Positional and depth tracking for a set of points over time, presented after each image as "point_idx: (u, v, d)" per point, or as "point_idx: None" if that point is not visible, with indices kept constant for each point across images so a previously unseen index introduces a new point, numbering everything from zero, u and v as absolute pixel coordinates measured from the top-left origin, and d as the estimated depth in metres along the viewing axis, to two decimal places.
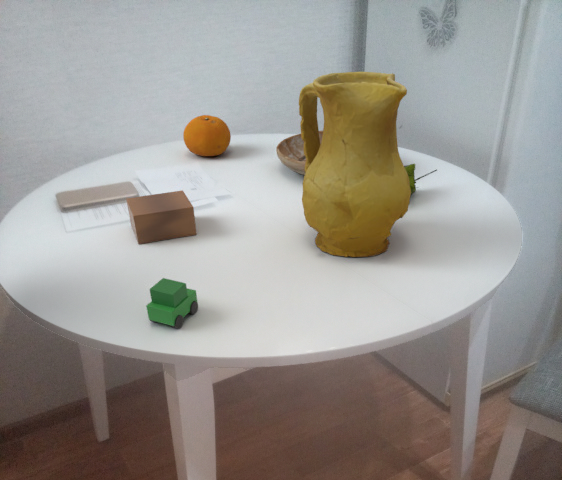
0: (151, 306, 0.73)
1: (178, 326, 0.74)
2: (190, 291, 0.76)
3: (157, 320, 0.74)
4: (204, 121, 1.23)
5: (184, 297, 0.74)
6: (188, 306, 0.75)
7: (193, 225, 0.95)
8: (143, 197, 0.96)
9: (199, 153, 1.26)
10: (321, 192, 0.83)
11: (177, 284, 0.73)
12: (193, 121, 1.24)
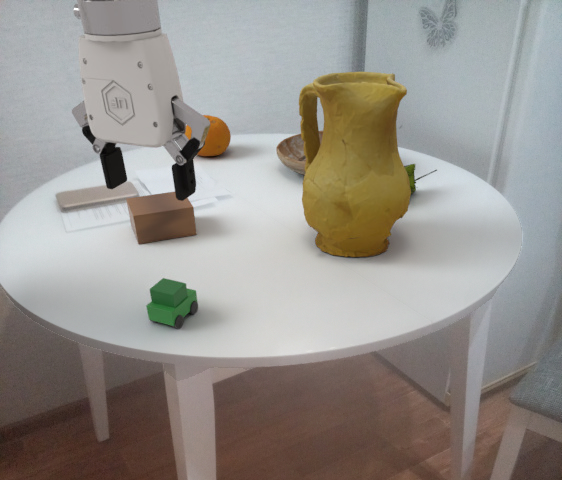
0: (151, 306, 0.73)
1: (178, 326, 0.74)
2: (190, 291, 0.76)
3: (157, 320, 0.74)
4: None
5: (184, 297, 0.74)
6: (188, 306, 0.75)
7: (193, 225, 0.95)
8: (143, 197, 0.96)
9: (199, 153, 1.26)
10: (321, 192, 0.83)
11: (177, 284, 0.73)
12: None
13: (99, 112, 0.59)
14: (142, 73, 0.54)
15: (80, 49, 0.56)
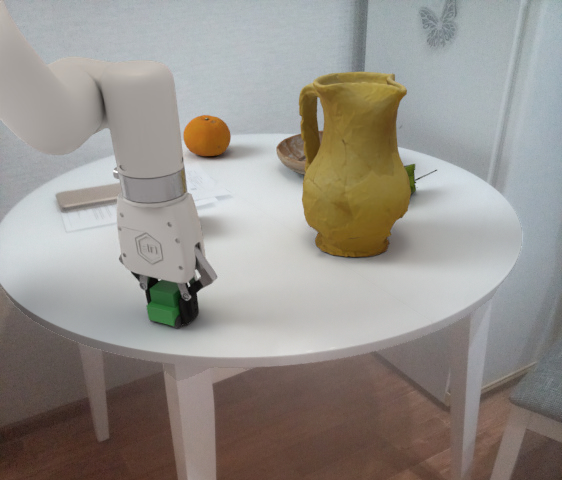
0: (151, 306, 0.73)
1: (178, 326, 0.74)
2: None
3: (157, 320, 0.74)
4: (204, 121, 1.23)
5: None
6: None
7: None
8: None
9: (199, 153, 1.26)
10: (321, 192, 0.83)
11: (177, 284, 0.73)
12: (193, 121, 1.24)
13: (132, 252, 0.69)
14: (171, 230, 0.64)
15: (118, 205, 0.66)
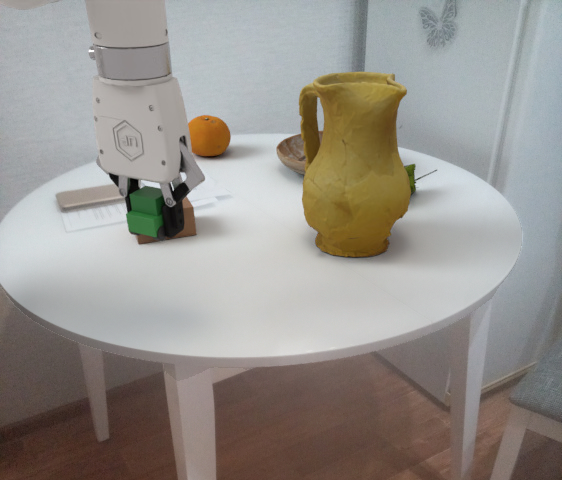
0: (131, 214, 0.66)
1: (161, 238, 0.66)
2: None
3: (138, 231, 0.66)
4: (204, 121, 1.23)
5: None
6: None
7: (193, 225, 0.95)
8: None
9: (199, 153, 1.26)
10: (321, 192, 0.83)
11: (160, 191, 0.66)
12: (193, 121, 1.24)
13: (109, 148, 0.61)
14: (153, 115, 0.57)
15: (94, 89, 0.58)
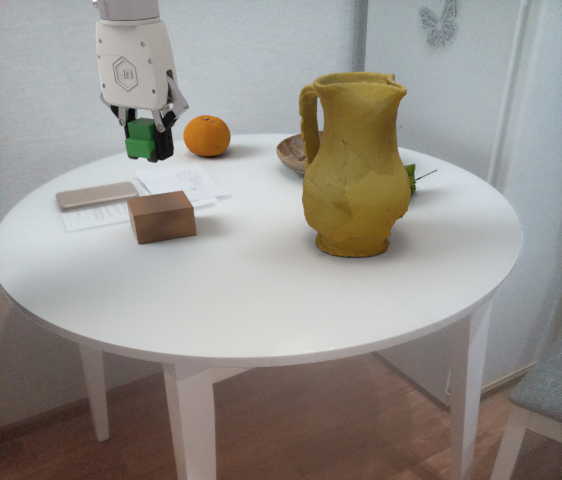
0: (129, 139, 0.79)
1: (154, 160, 0.80)
2: None
3: (135, 154, 0.80)
4: (204, 121, 1.23)
5: None
6: None
7: (193, 225, 0.95)
8: (143, 197, 0.96)
9: (199, 153, 1.26)
10: (321, 192, 0.83)
11: (153, 120, 0.79)
12: (193, 121, 1.24)
13: (110, 81, 0.75)
14: (144, 50, 0.70)
15: (97, 31, 0.72)
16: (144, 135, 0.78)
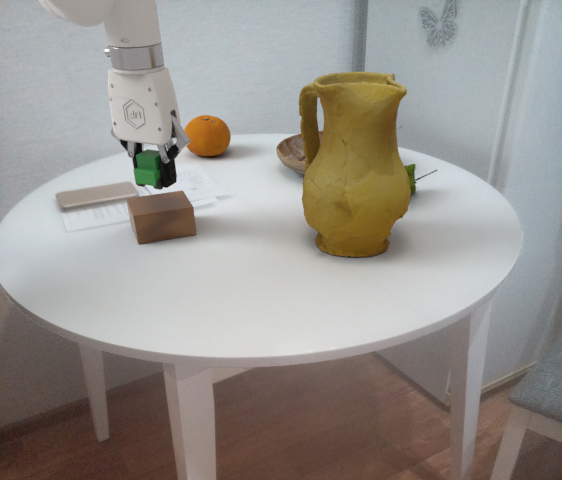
0: (137, 169, 0.89)
1: (159, 187, 0.90)
2: None
3: (142, 182, 0.90)
4: (204, 121, 1.23)
5: None
6: None
7: (193, 225, 0.95)
8: (143, 197, 0.96)
9: (199, 153, 1.26)
10: (321, 192, 0.83)
11: (158, 152, 0.89)
12: (193, 121, 1.24)
13: (121, 120, 0.85)
14: (151, 95, 0.81)
15: (109, 78, 0.82)
16: (151, 166, 0.89)
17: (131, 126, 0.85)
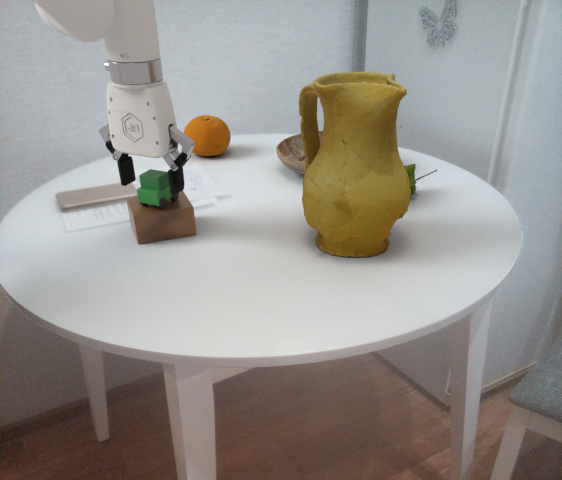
0: (140, 189, 0.91)
1: (162, 206, 0.92)
2: None
3: (145, 202, 0.92)
4: (204, 121, 1.23)
5: (167, 183, 0.92)
6: None
7: (193, 225, 0.95)
8: None
9: (199, 153, 1.26)
10: (321, 192, 0.83)
11: (161, 172, 0.92)
12: (193, 121, 1.24)
13: (119, 133, 0.86)
14: (149, 109, 0.82)
15: (108, 91, 0.83)
16: (154, 185, 0.91)
17: (129, 139, 0.86)
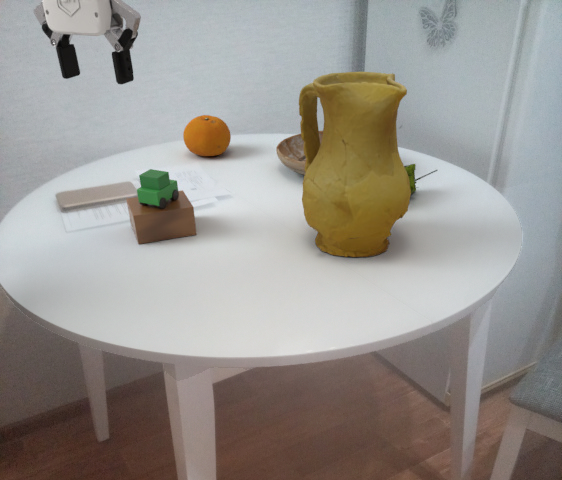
0: (140, 189, 0.91)
1: (162, 206, 0.92)
2: (172, 181, 0.94)
3: (145, 202, 0.92)
4: (204, 121, 1.23)
5: (167, 183, 0.92)
6: (170, 192, 0.93)
7: (193, 225, 0.95)
8: None
9: (199, 153, 1.26)
10: (321, 192, 0.83)
11: (161, 172, 0.92)
12: (193, 121, 1.24)
13: (53, 7, 0.74)
14: None
15: None
16: (154, 185, 0.91)
17: (65, 13, 0.74)
